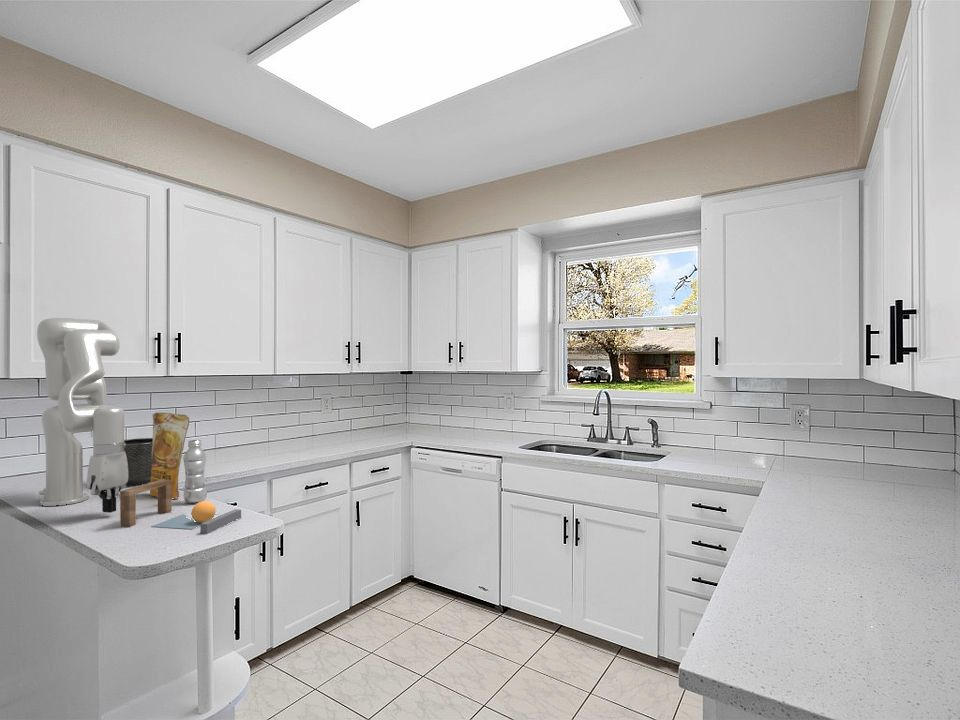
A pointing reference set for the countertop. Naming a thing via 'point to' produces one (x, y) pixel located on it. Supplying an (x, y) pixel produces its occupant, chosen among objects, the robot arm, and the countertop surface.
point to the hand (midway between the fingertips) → (109, 511)
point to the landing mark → (178, 523)
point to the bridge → (130, 500)
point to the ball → (203, 511)
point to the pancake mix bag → (168, 448)
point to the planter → (139, 460)
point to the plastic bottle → (194, 473)
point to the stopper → (219, 521)
